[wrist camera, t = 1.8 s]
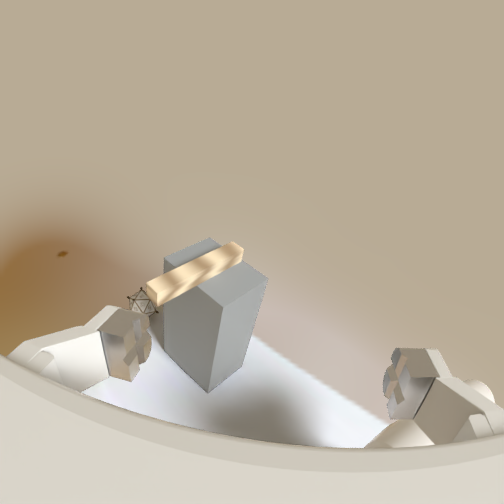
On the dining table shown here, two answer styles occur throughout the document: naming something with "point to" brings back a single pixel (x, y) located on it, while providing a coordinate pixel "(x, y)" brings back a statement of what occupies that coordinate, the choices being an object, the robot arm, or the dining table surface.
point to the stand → (212, 318)
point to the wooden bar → (193, 273)
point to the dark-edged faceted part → (142, 303)
